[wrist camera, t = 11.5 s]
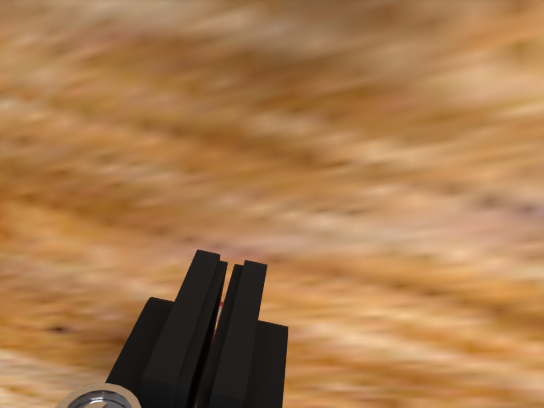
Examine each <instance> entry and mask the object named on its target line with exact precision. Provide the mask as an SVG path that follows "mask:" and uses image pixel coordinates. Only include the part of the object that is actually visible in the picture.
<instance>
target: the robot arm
mask: <svg viewBox="0 0 544 408" xmlns="http://www.w3.org/2000/svg"><path fill="white" fill-rule="evenodd" d="M227 265H228V262H224V261H220V254H216V253H211V252H207V251H202V250H197V252H196V254H195V256H194V258H193V261H192V263H191V265H190V268H189V270H188V272H187V274H186V277H185V279H184V281H183V284H182V286H181V288H180V291H179V293H178V295H177V297H176V300H175V302H172V301H168V300H163V299H159V298H154V297H151V298H149V300H148V301H147V303H146V305H145V307H144V309H143V311H142V313H141V315H140V316H139V318H138V320H137V322H136V324H135V326H134V328H133V330H132V332H131V334H130V336H129V338H128V340H127V342H126V343H125V345H124V347H123V349H122V351H121V353H120V355H119V357H118V359H117V361H116V363H115V365H114V367H113V369H112V370H111V372H110V374H109V376H108V378H107V380H106V382H105V383H100V384H92V385H88V386H84V387H81V388H79V389H77V390H75V391H74V392H72V393H70V394H69V395H67V396H66V397H65V398H64V399H63V400H62V401H61V402H60V403H59V404H58V405H57V406H56V408H195V407H196V408H282V404H283V391H284V379H285V366H286V354H287V341H288V327H287V326H283V325H278V324H273V323H269V322H264V321H260V320H258V317H259V311H260V305H261V299H262V293H263V288H264V282H265V276H266V270H267V265H266V264H262V263H257V262H253V261H248V260H245V262H244V266H242V265H238V264H235V265H234V268H233V272H232V275H231V279H230V282H229V286H228V290H227V293H226V297H225V300H224V304H223V307H222V311H221V314H220V318H219V321H218V325H217V328H216V332H215V327H216V322H217V317H218V312H219V307H220V301H221V296H222V291H223V286H224V281H225V275H226V270H227ZM214 332H215V335H214ZM213 338H214V339H213Z"/></svg>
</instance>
